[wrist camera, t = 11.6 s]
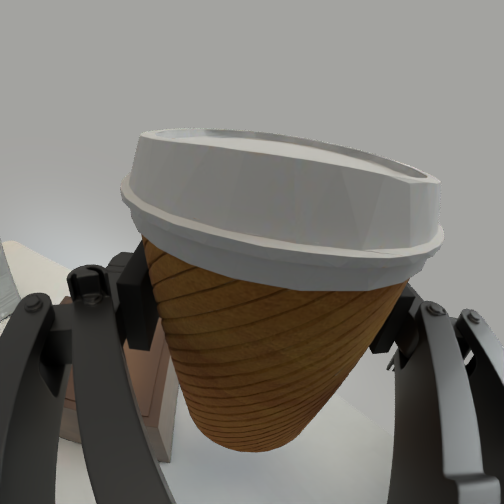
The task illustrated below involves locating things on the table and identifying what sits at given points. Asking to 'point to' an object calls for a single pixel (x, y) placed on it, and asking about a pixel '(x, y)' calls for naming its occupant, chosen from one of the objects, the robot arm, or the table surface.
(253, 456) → the table surface
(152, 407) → the walnut riser
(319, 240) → the disposable coffee cup
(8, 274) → the cosmetic box
